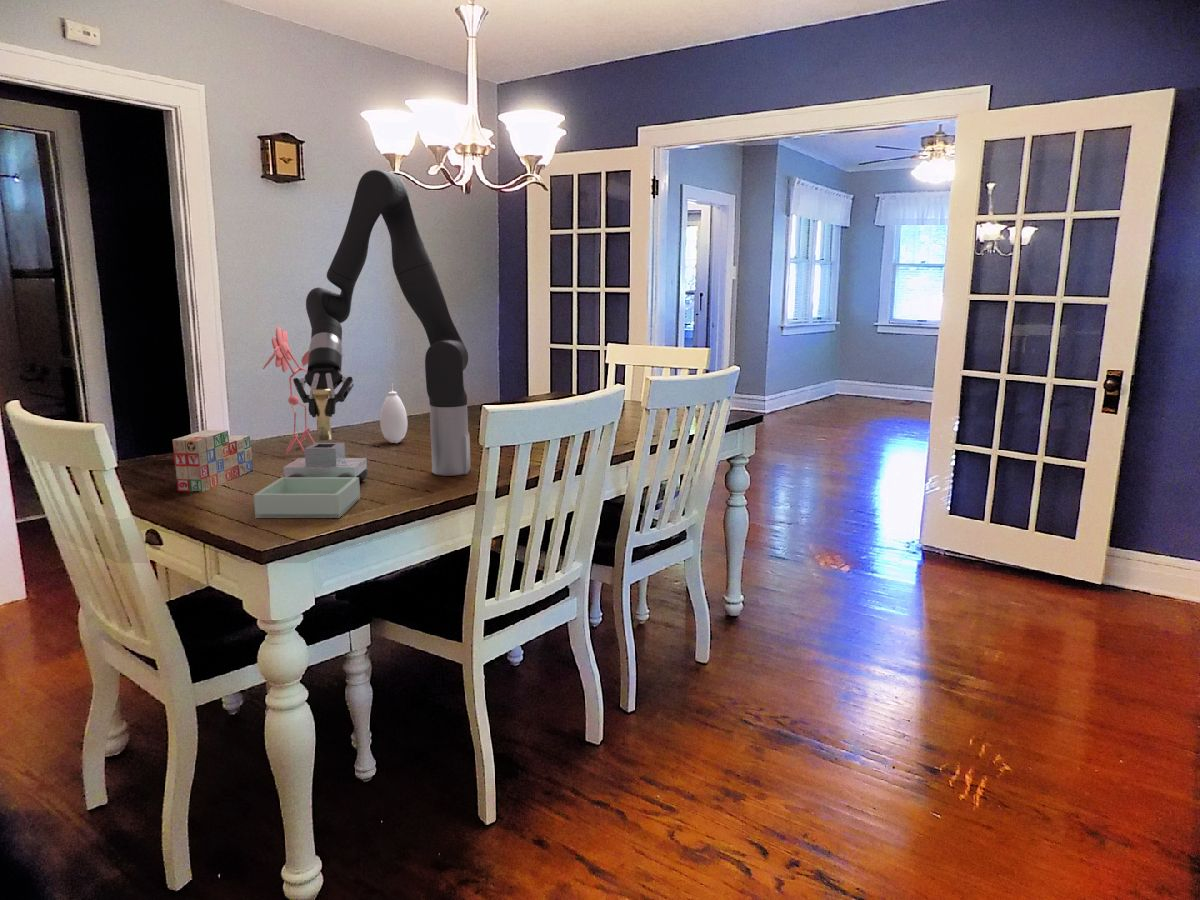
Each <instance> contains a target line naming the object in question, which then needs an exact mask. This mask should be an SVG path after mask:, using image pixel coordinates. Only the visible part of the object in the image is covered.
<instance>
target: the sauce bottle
mask: <svg viewBox="0 0 1200 900" xmlns="http://www.w3.org/2000/svg"><path fill="white" fill-rule="evenodd" d="M382 403H383V404H382V406H381V410H380V417H379V418H380V419H379V425H380V431H381V433H382V435H383V437H384V439H385V440H388V442H389V443H391V444H392V443H396V444H398V443H400V442H401V441H402V440H403V439H404V438H405V436H406V434H407V431H408V414H407V411H406V408H405V405H404V403H403V401H402V399H401V397H400V396H399V395H398V392H397V391H395V390H394V384H393V383H391V391H389V392H387V396H386V397H385V399H384V402H382Z"/></svg>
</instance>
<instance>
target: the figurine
mask: <svg viewBox="0 0 1200 900" xmlns="http://www.w3.org/2000/svg"><path fill="white" fill-rule="evenodd" d="M288 335H289V334H288V331H287V330H283V332H282V328H281V327H280V326H278V327H276V329H275V337H276V338H275V337H274V336H272V337H271V345H272V348H273V349H274V350H273V353H272V355H271V356H270V357H269V358H268V360H267V361H266V363H265V364H264V365H263V368H262V369H263V370H265V369H266V367H267V366H268V365H269V364H270V363H271V361H272V360H273V359H275V361H274V362H275V363H274V364H275V367H276V368H279V367H281V371H282V372H283V373H286V371H287V370H288V367H289V369H290V372H291V373H292V374H291V375H290V376H289V378H288V380H289V381H288V383H289V390H290V392H289V393H290V396H289V397H288V399H287V400H288V401H287V402H288V403H289V404H290V405H291V408H292V411H293V412H294V416H293V419H294V422H293V423H294V425H293V436H292V439H291V440H290V441H289V444H288V446H287V449H286V452H285V454H284V455H285V456H287V455H288V454H289V453H290V452H291V450H292V449H293V448H294V445H295V444H296V442H297V445H298V447H300V449H301V450H302V452H303V454H304V455H305V450H304V449H305V447H303V445H302V444H304V442H305V440H306V439H307V438H309V439H310V441H311V442H312V444H313V443H316V442H315V441H314V439H313V437H312V436H311V434H310V430H311V429H310V428H309V427H307V405H305V404H304V403H303V404H302V403H300V401H299V400H300V399H299V398H298V396H296V395H293V386H292V385H293V384H292V381H293V380H292V378H293V377H294V376H295V375H296V374H298V372H300V371H304V372H307V370H308V368H304V367H305V366H306V365H308V357H309V349H308V350H307V351H306V352H305V353H304V354H303V356H302V358H301V365H302V366H303V367H302V366H300V365H299V363H298V362H297V359H296V358H295V357H294V355H293V354H292V351H291V349H290V346H289V345H290V344H289V342H288V341H289V337H288ZM292 360H293V362H294V363H295V365H296V367H297V368H296V369H293V367H292V365H291V363H290V361H292ZM297 404H298V405H300V406H302V407H304V425H305V426H304V429H305V430H304V432H303V433H302V434H301V436H300V438H299V439H298V435H299V434H298V433H296V423H297V422H296V421H297V420H296V419H297V418H296V417H297V412H296V409H295V408H294V406H296V405H297Z"/></svg>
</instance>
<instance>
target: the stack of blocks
mask: <svg viewBox="0 0 1200 900" xmlns="http://www.w3.org/2000/svg"><path fill="white" fill-rule="evenodd" d="M172 447H173V463H174V466H175V473H176V474H175V475H176V477H175V478H176V486H177V492H193V491H199V492H200V493H203V492H206V491H208V490H210V488H211V489H214V488H215V486H216V487H218V486H220V484H221V485H223V484H222V483H224V482H226V481H228V480H230V481H232V480H234V479H233V478H235V477H237V476H239V477H241V476H240V475H242V474H244V473H247V472H249V471H251V470H253V471H254V467H253V453H252V446H251V437H250V435H239V434H238V435H231V434H229V430H222V429H220V430H219V429H204V430H200V431H196V432H193V433H191V434H188V435H184V436H181V437H178V438H174V439H172ZM249 473H250V472H249ZM247 474H248V473H247ZM244 475H245V474H244ZM242 476H243V475H242ZM237 478H238V477H237ZM231 479H232V480H231ZM235 479H236V478H235ZM228 482H229V481H228ZM226 483H227V482H226ZM224 484H225V483H224ZM217 485H218V486H217ZM213 487H214V488H213ZM205 490H206V491H205ZM199 492H198V493H199Z"/></svg>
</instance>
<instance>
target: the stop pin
mask: <svg viewBox="0 0 1200 900" xmlns="http://www.w3.org/2000/svg"><path fill="white" fill-rule="evenodd" d="M310 391H311V392H312V396H315V406H316V417H315V418H316V431H317V440H318V441H329V440H332V439H333V438H332V426H331V425H332V423H331V417H329V416H328V399H329V395H331V389H328V388H319V389H312V390H311V389H310Z"/></svg>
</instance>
